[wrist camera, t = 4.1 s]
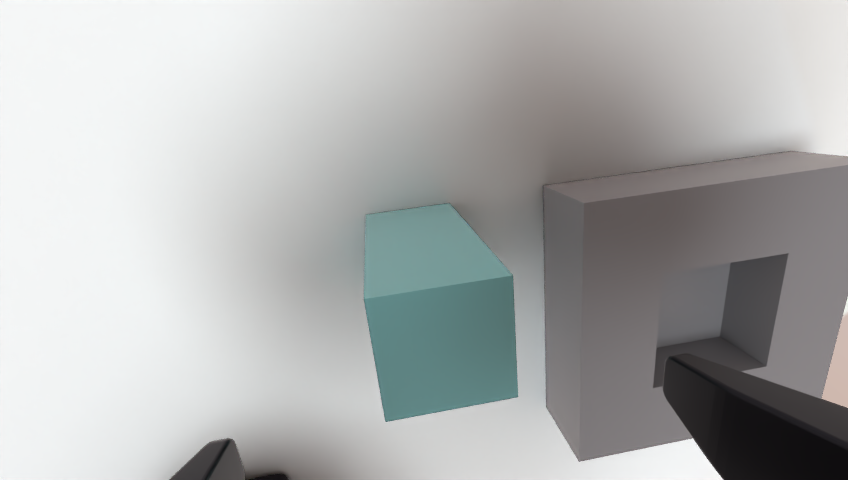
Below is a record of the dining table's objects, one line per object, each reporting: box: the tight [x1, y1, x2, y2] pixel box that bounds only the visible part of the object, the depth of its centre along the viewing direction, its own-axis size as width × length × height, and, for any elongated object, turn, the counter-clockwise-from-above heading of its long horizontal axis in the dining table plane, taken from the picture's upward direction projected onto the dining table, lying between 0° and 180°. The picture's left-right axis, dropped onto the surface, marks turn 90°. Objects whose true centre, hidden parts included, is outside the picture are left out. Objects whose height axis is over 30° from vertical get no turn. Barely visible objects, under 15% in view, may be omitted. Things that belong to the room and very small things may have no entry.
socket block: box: [543, 151, 848, 462], centre depth 18 cm, size 12×12×4 cm
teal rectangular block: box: [364, 203, 518, 422], centre depth 14 cm, size 4×4×8 cm
